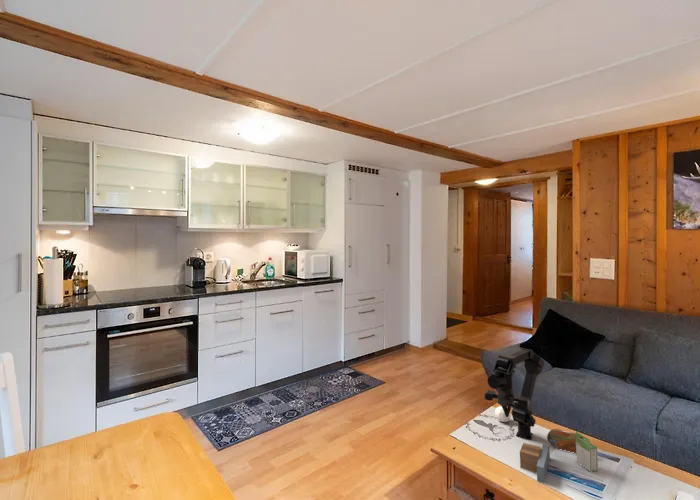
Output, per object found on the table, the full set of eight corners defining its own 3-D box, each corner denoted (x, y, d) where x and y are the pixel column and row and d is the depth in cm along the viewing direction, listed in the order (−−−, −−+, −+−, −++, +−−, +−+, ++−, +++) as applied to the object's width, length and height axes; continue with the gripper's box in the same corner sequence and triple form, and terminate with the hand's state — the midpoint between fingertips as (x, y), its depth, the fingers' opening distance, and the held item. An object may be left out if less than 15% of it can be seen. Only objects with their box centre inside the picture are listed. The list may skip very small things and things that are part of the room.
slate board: (543, 456, 159) (543, 442, 159) (549, 458, 157) (549, 444, 157) (537, 481, 142) (536, 465, 142) (543, 483, 141) (543, 467, 141)
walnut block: (523, 458, 158) (523, 442, 158) (541, 463, 154) (541, 447, 154) (520, 468, 151) (519, 451, 151) (539, 473, 147) (538, 456, 147)
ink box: (598, 471, 148) (597, 438, 148) (590, 472, 147) (589, 439, 147) (584, 461, 154) (583, 430, 154) (576, 462, 154) (575, 431, 154)
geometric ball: (499, 424, 194) (493, 408, 198) (514, 421, 191) (508, 405, 196) (496, 422, 188) (491, 406, 193) (512, 419, 185) (506, 403, 190)
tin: (547, 446, 167) (546, 428, 167) (548, 443, 169) (547, 425, 169) (586, 457, 157) (585, 437, 158) (586, 453, 160) (586, 434, 160)
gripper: (481, 385, 168) (482, 418, 168) (525, 393, 157) (526, 429, 157) (487, 377, 177) (488, 409, 177) (529, 385, 166) (530, 419, 166)
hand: (507, 416), depth 169 cm, fingers closed
